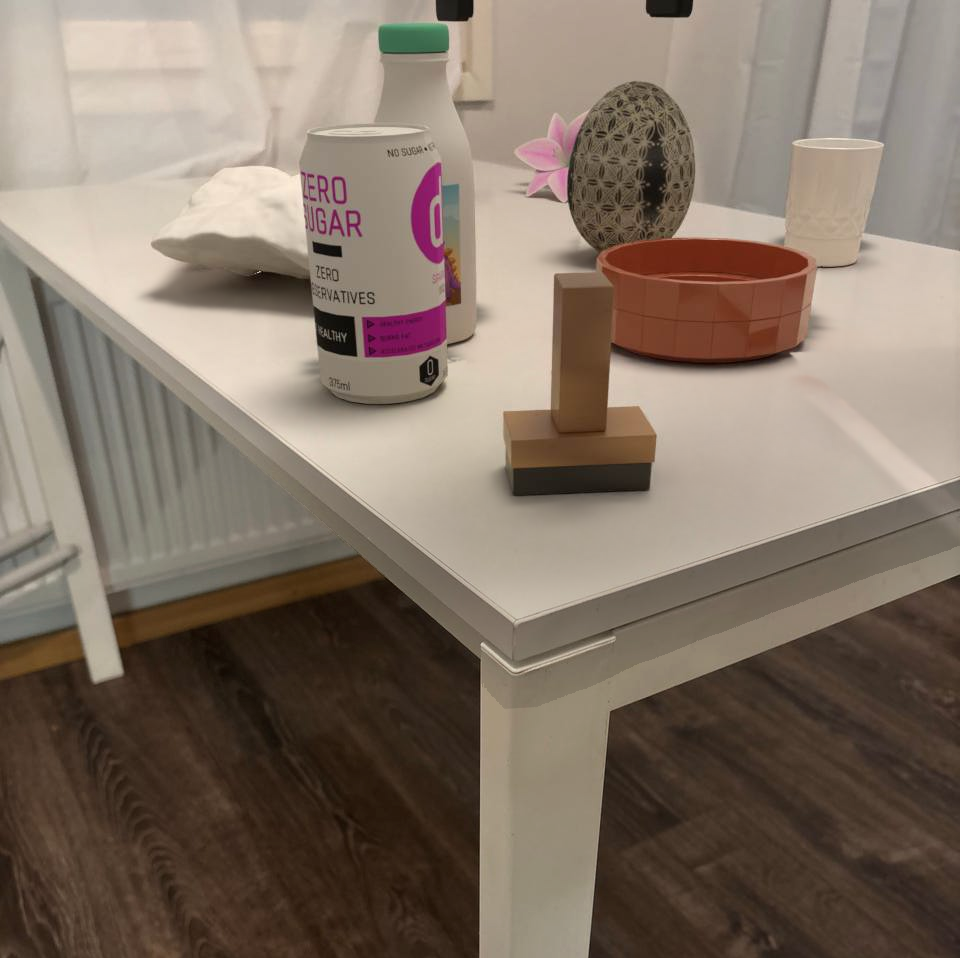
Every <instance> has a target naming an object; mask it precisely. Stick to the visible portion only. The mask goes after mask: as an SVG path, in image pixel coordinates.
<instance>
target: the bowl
mask: <svg viewBox="0 0 960 958" xmlns="http://www.w3.org/2000/svg"><path fill="white" fill-rule="evenodd" d="M817 271H818V266H817V263H816V259H815V258H813V257H811V256H810V255H808V254H806V253H805V252H802V251H799V250H796V249H792V248H789V247H786V246H784V245H780V244H775V243H770V242H763V241H757V240H749V239H739V238H730V237H729V238H728V237H727V238H726V237H697V236H690V237H672V238H661V239H651V240H641V241H634V242H630V243H625V244H620V245H615V246H613V247H611V248H608V249H606V250H603V251H602V252H601V253H600V252H599V254H598V256H597V257H596V265H595V272H603V273H604V275H605V276H606V277H607V278H608V280H609V281H610V282H611V284H612V285H613V286H614V300H613V318H612V336H611V344H614V345H616V346H617V347H620V348H621V349H624V350H626V351H629V352H631V353H634V354H636V355H641V356H644V357H649V358H654V359H658V360H659V359H660V360H665V361H666V360H667V361H674V362H684V363H700V364H701V363H704V364H715V363H716V364H721V363H723V364H724V363H736V362H745V361H753V360H757V359H762V358H767V357H770V356H773V355H775V354H778V353H781V352H783V351H785V350H786V351H787V350H789V349H792V348H795V347H797V346H798V345H799V344H801V343H802V342H803V341H804V340H806V339H807V335H808V329H809V321H810V316H811V310H812V302H813V297H814V290H815V285H816V279H817V278H816V277H817Z"/></svg>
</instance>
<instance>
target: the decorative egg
mask: <svg viewBox="0 0 960 958" xmlns="http://www.w3.org/2000/svg"><path fill="white" fill-rule="evenodd" d="M590 109H591V110H590ZM590 109H589V110H590V111H589V112H588V114H587V116H586V117H585V119H584V121H583V123H582V125H581V127H580V129H579V131H578V134H577V136H576V139H575V142H574V146H573V149H572V153H571V157H570V162H569V168H568V176H567V197H568V199H567V203H568V209H569V212H570V213H569V214H570V216H571V219H572V222H573V223H574V225H575V228H576V230H577V231H578V233H579V234H580V236H581V237H582V239H583V240H584V241H585V242H586V243H587V244H588V245H589V246H590V247H591V248H592V249H594V250H595V251H596V252H598V253H599V254H600V253H601V252H602V251H603V250H606V249H608V248H611V247H613V246H615V245H620V244H625V243H630V242H634V241H641V240H651V239H661V238H674V235H676V233H677V232H678V230H679V229H680V228H681V226H682V224H683V222H684V221H685V219H686V218H685V217H686V216H687V214H688V211H689V208H690V206H691V202H692V199H693V194H694V189H695V181H696V156H695V146H694V141H693V136H692V133H691V129H690V126H689V124H688V122H687V119H686V117H685V115H684V113H683V111H682V110H681V108H680V106H679V105H678V104H677V102H676V101H675V100H674V99H673V97H671V95H670V94H669V93H668V92H667V91H666V90H664V89H663V88H662V87H660V86H658V85H656V84H655V83H651V82H647V81H638V80H631V81H627V82H623V83H621V84H618V85H617V86H615V87H613V88H612V89H610V90H608V91H607V92H606V93H605V94H603V95H602V96H601V97H600V98H599V99H598V100H597V101H596V102H595V103H594V105H593V106H591V108H590Z"/></svg>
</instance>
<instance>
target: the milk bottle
mask: <svg viewBox="0 0 960 958" xmlns="http://www.w3.org/2000/svg"><path fill="white" fill-rule="evenodd" d="M377 33H378V34H377V35H378V39H377V40H378V49H379V50H378V51H379V52H380V59H379V62H380V63H381V64H382V67H383V84H382V89H381V94H380V95H381V96H380V99H379V105H378V107H377V111H376V114H375V117H374V120H373V123H393V124H413V125H421V126H426V127H428V128H429V135H430V137H431V139H432V141H433V143H434V145H435V147H436V149H437V151H438V153H439V155H440V157H441V173H442V205H443V236H444V268H445V300H446V332H447V345H449V344H454V343H458V342H462V341H464V340H467V339H469V338H470V337H472V336H473V335H474V333H475V331H476V328H477V246H476V245H477V243H476V241H477V240H476V239H477V237H476V202H475V201H476V197H475V196H476V195H475V178H474V177H475V175H474V164H473V157H472V156H473V155H472V152H471V146H470V143H469V139H468V136H467V133H466V131H465V128H464V126H463V124H462V121H461V119H460V116H459V114H458V111H457V109H456V106H455V103H454V101H453V98H452V94H451V90H450V86H449V82H448V76H447V64H448V62H450V58H449V49H450V32H449V26H448V25H447V24H445V23H441V22H402V23H401V22H399V23H398V22H397V23H385V24H381V25H380V26H379V27H378V31H377Z"/></svg>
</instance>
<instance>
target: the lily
mask: <svg viewBox="0 0 960 958" xmlns="http://www.w3.org/2000/svg"><path fill="white" fill-rule="evenodd" d="M591 109H592V108H590V109H588V110H586V111H584V112H583V113H581V114H580V115H579V116H577V117H576V118H574V119H573V120H572V121H570V122H569V124H568V125H567V123H566V122H565V120H564V119H563V117H562V116H561V115H560V114H559V113H558V112H554V113H553V115H552V117H551V120H550V123H549V125H548V126H549V127H548V131H547V137H539V138H535V139H532V140H530V141H527V142H525V143H523V144H521V145H519V146H517V147H516V148H515V149H514V150H513V154H514V155H515V156H516V157H517V158H519V159H520V160H521V161H522V162H524V163H525V164H526V165H528V166H529V167H531V168H533V169H535V171H534V173H533V175H532V177H531V179H530V181H529V183H528V186H527V189H526V191H525V197H526V198H528V197H530V196H532V195H533V194H535V193H537V192H538V191H539V190H541V189H542V188H544V187H546V186H547V185H548V186H549V188H550V190H551V191H552V192H553V194H554V196H556V198H557V199H558V200H559V201H560V202H561V203H563V204H565V203H566V202H568V197H567V176H568V168H569V162H570V157H571V153H572V149H573V146H574V142H575V139H576V136H577V134H578V131H579V129H580V127H581V125H582V123H583V121H584V119H585V117H586V116H587V114H588V112H589V111H590V110H591Z"/></svg>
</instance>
